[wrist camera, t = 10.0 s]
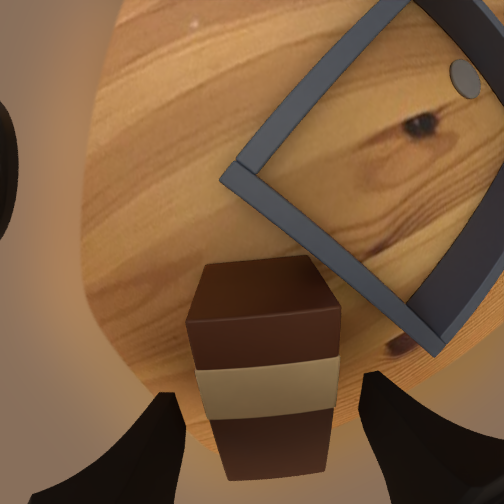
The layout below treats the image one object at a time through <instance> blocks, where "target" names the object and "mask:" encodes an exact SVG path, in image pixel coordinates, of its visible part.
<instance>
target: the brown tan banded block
mask: <svg viewBox="0 0 504 504" xmlns="http://www.w3.org/2000/svg"><path fill="white" fill-rule="evenodd" d="M185 323H186V328H187V333H188V337H189V342H190V346H191V350H192V355H193V359H194V363H195V375H196V379H197V383H198V387H199V391H200V395H201V398H202V402H203V406H204V409H205V413H206V416H207V419H208V420H209V421H210V424H211V428H212V431H213V434H214V438H215V441H216V444H217V448H218V451H219V454H220V457H221V460H222V464H223V467H224V470H225V473H226V476H227V479H228V480H229V481H242V480H260V479H272V478H282V477H291V476H299V475H306V474H313V473H319V472H324V471H325V468H326V461H327V455H328V449H329V442H330V434H331V427H332V419H333V411H334V407H335V406H336V400H337V390H338V380H339V369H340V355H339V342H340V324H341V306H340V304H339V302H338V301H337V299H336V298H335V296H334V295H333V293H332V291H331V290H330V288H329V287H328V285H327V284H326V282H325V281H324V279H323V278H322V276H321V274H320V273H319V271H318V270H317V268H316V267H315V265H314V264H313V262H312V261H311V259H310V258H309V256H307V255H305V256H295V257H284V258H274V259H263V260H253V261H242V262H231V263H220V264H209V265H205V268H204V270H203V273H202V276H201V279H200V281H199V284H198V287H197V290H196V292H195V295H194V298H193V301H192V304H191V307H190V309H189V312H188V315H187V318H186V321H185Z"/></svg>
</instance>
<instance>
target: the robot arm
mask: <svg viewBox="0 0 504 504" xmlns="http://www.w3.org/2000/svg"><path fill="white" fill-rule="evenodd" d="M358 411H359V415H360V418H361V422H362V425H363V428H364V431H365V434H366V436H367V438H368V441H369V443H370V445H371V447H372V450H373V452H374V454H375V456H376V459H377V461H378V463H379V465H380V468H381V470H382V473H383V475H384V478H385V481H386V485H387V488H388V492H389V496H390V500H391V503H392V504H504V440H502V439H498V438H494V437H490V436H486V435H483V434H480V433H477V432H474V431H471V430H469V429H466V428H464V427H461V426H459V425H457V424H455V423H453V422H451V421H449V420H446V419H445V418H443V417H441V416H439V415H438V414H436V413H434V412H433V411H431V410H430V409H428V408H426V407H425V406H423V405H422V404H420V403H419V402H417V401H416V400H415V399H413V398H412V397H411V396H409V395H408V394H407V393H406V392H404V391H403V390H402V389H401V388H399V387H398V386H397V385H396V384H394V383H393V382H392V381H391V380H389V379H388V378H387V377H386V376H385V375H383V374H382V373H381V372H380V371H374V372H369V373H364V377H363V383H362V389H361V395H360V401H359V406H358ZM185 437H186V425H185V422H184V419H183V416H182V413H181V411H180V408H179V405H178V402H177V399H176V396H175V393H174V392H159V393H158V394H157V396H156V397H155V398H154V399H153V401H152V402H151V403H150V405H149V406H148V407H147V408H146V410H145V411H144V412H143V413H142V415H141V416H140V417H139V418H138V419H137V421H136V422H135V423H134V424H133V425H132V427H131V428H130V429H129V430H128V431H127V432H126V433H125V434H124V435H123V436H122V437H121V438H120V439H119V440H118V441H117V442H116V443H115V444H114V445H113V446H112V447H111V448H110V449H109V450H108V451H107V452H106V453H105V454H104V455H102V456H101V457H100V458H99V459H97V460H96V461H95V462H93V463H92V464H91V465H89V466H88V467H86V468H85V469H83V470H82V471H80V472H79V473H77V474H76V475H74V476H72V477H71V478H69V479H67V480H65V481H63V482H61V483H59V484H57V485H55V486H53V487H50V488H48V489H45V490H43V491H40V492H38V493H34V494H32V496H31V498H30V500H29V502H28V504H174V498H175V491H176V487H177V482H178V476H179V473H180V468H181V463H182V458H183V453H184V449H185Z"/></svg>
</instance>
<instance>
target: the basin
mask: <svg viewBox="0 0 504 504" xmlns="http://www.w3.org/2000/svg"><path fill="white" fill-rule="evenodd" d="M410 1H411V0H380V1H379V2H377V3H376V4H375V5H374V6H373V7H372V8H371V9H370V10H369V11H368V12H367V13H366V14H365V15H364V16H363V17H362V18H361V19H360V20H359V21H358V22H357V23H356V24H355V25H354V26H353V27H352V28H351V29H350V30H349V31H348V32H347V33H346V34H345V35H344V36H343V37H342V38H341V39H340V40H339V41H338V42H337V43H336V44H335V45H334V46H333V47H332V48H331V49H330V50H329V51H328V52H327V53H326V54H325V55H324V56H323V57H322V58H321V60H320V61H319V62H318V63H317V64H316V65H315V66H314V67H313V68H312V69H311V70H310V71H309V72H308V74H307V75H306V76H305V77H304V78H303V79H302V80H301V81H300V82H299V84H298V85H297V86H296V87H295V88H294V89H293V90H292V91H291V92H290V94H289V95H288V96H287V97H286V98H285V99H284V100H283V102H282V103H281V104H280V105H279V106H278V107H277V109H276V110H275V111H274V112H273V113H272V114H271V116H270V117H269V118H268V119H267V120H266V121H265V123H264V124H263V125H262V126H261V127H260V129H259V130H258V131H257V132H256V133H255V135H254V136H253V137H252V138H251V140H250V141H249V142H248V143H247V144H246V146H245V147H244V148H243V149H242V151H241V152H240V153H239V154H238V156H237V157H236V161H235V160H234V161H233V162H232V163H231V164H230V166H229V167H228V168H227V169H226V171H225V172H224V173H223V175H222V176H221V177H220V178H219V181H220V183H222V184H223V185H224V186H226V187H227V188H228V189H230V190H231V191H232V192H234V193H235V194H236V195H238V196H239V197H240V198H241V199H243V200H244V201H245V202H247V203H248V204H249V205H251V206H252V207H253V208H254V209H256V210H257V211H258V212H260V213H261V214H262V215H263V216H265V217H266V218H267V219H269V220H270V221H271V222H272V223H274V224H275V225H276V226H277V227H279V228H280V229H281V230H283V231H284V232H285V233H286V234H288V235H289V236H290V237H291V238H293V239H294V240H295V241H296V242H298V243H299V244H300V245H301V246H303V247H304V248H305V249H306V250H308V251H309V252H310V253H311V254H312V255H314V256H315V257H316V258H317V259H319V260H320V261H321V262H322V263H324V264H325V265H326V266H327V267H328V268H330V269H331V270H332V271H333V272H335V273H336V274H337V275H338V276H339V277H341V278H342V279H343V280H344V281H345V282H347V283H348V284H349V285H350V286H351V287H353V288H354V289H355V290H356V291H357V292H359V293H360V294H361V295H362V296H363V297H365V298H366V299H367V300H368V301H369V302H370V303H372V304H373V305H374V306H375V307H376V308H378V309H379V310H380V311H381V312H382V313H383V314H385V315H386V316H387V317H388V318H389V319H390V320H392V321H393V322H394V323H395V324H396V325H397V326H398V327H400V328H401V329H402V330H403V331H404V332H405V333H407V334H408V335H409V336H410V337H411V338H412V339H413V340H414V341H416V342H417V343H418V344H419V345H420V346H421V347H422V348H424V349H425V350H426V351H427V352H428V353H429V354H430V355H431V356H432V357H434V358H435V357H436V356H437V355H438V354H439V353H440V352H441V351H442V349H443V348H444V347H445V346H446V344H448V343H449V342H450V341H451V339H452V338H453V337H454V336H455V335H456V334H457V332H458V331H459V330H460V329H461V328H462V326H463V325H464V324H465V323H466V321H467V320H468V319H469V318H470V316H471V315H472V314H473V313H474V311H475V310H476V309H477V307H478V306H479V305H480V303H481V302H482V301H483V299H484V298H485V296H486V295H487V294H488V292H489V291H490V289H491V288H492V287H493V285H494V284H495V282H496V281H497V279H498V278H499V276H500V275H501V273H502V272H503V270H504V163H503V165H502V167H501V169H500V170H499V172H498V174H497V176H496V178H495V179H494V181H493V183H492V185H491V186H490V188H489V190H488V191H487V193H486V195H485V196H484V198H483V200H482V201H481V203H480V205H479V206H478V208H477V209H476V211H475V213H474V214H473V216H472V217H471V219H470V220H469V222H468V223H467V225H466V226H465V228H464V229H463V231H462V232H461V234H460V235H459V236H458V238H457V239H456V241H455V242H454V243H453V245H452V246H451V248H450V249H449V250H448V252H447V253H446V255H445V256H444V257H443V259H442V260H441V261H440V263H439V264H438V265H437V266H436V268H435V269H434V270H433V272H432V273H431V274H430V275H429V277H428V278H427V279H426V280H425V282H424V283H423V284H422V285H421V287H420V288H419V289H418V290H417V291H416V293H415V294H414V295H413V296H412V297H411V299H410V300H409V301H408V302H407V303H406V304H405V303H404V302H403V301H402V300H401V299H400V298H399V297H398V296H396V295H395V294H394V293H393V292H392V291H391V290H390V289H389V288H388V287H387V286H386V285H385V284H384V283H383V282H381V281H380V280H379V279H378V278H377V277H376V276H375V275H374V274H373V273H372V272H371V271H369V270H368V269H367V268H366V267H365V266H364V265H363V264H362V263H361V262H359V261H358V260H357V259H356V258H355V257H354V256H353V255H352V254H350V253H349V252H348V251H347V250H346V249H345V248H344V247H342V246H341V245H340V244H339V243H338V242H337V241H336V240H334V239H333V238H332V237H331V236H330V235H329V234H327V233H326V232H325V231H324V230H323V229H321V228H320V227H319V226H318V225H317V224H316V223H314V222H313V221H312V220H311V219H310V218H308V217H307V216H306V215H305V214H304V213H302V212H301V211H300V210H299V209H298V208H296V207H295V206H294V205H293V204H291V203H290V202H289V201H288V200H287V199H285V198H284V197H283V196H282V195H280V194H279V193H278V192H277V191H275V190H274V189H273V188H272V187H270V186H269V185H268V184H267V183H265V182H264V181H263V180H261V179H260V178H259V177H258V176H256V174H258V172H259V171H260V170H261V169H262V167H263V166H264V165H265V164H266V163H267V161H268V160H269V159H270V158H271V156H272V155H273V154H274V153H275V152H276V150H277V149H278V148H279V147H280V145H281V144H282V143H283V142H284V141H285V139H286V138H287V137H288V136H289V135H290V133H291V132H292V131H293V130H294V129H295V128H296V126H297V125H298V124H299V123H300V122H301V120H302V119H303V118H304V117H305V116H306V115H307V113H308V112H309V111H310V110H311V109H312V108H313V106H314V105H315V104H316V103H317V102H318V101H319V99H320V98H321V97H322V96H323V95H324V94H325V93H326V91H327V90H328V89H329V88H330V87H331V86H332V85H333V83H334V82H335V81H336V80H337V79H338V78H339V77H340V76H341V74H342V73H343V72H344V71H345V70H346V69H347V68H348V67H349V66H350V64H351V63H352V62H353V61H354V60H355V59H356V58H357V57H358V56H359V55H360V53H361V52H362V51H363V50H364V49H365V48H366V47H367V46H368V45H369V44H370V43H371V42H372V40H373V39H374V38H375V37H376V36H377V35H378V34H379V33H380V32H381V31H382V30H383V29H384V28H385V27H386V26H387V25H388V24H389V23H390V21H391V20H392V19H393V18H394V17H395V16H396V15H397V14H398V13H399V12H400V11H401V10H402V9H403V8H404V7H405V6H406V5H407V4H408V3H409V2H410ZM414 1H415V2H416V3H418V4H419V5H420V6H421V7H422V8H423V9H424V10H425V11H426V12H427V13H428V14H429V15H430V16H431V17H432V18H433V19H434V20H435V21H436V22H437V23H438V24H439V25H440V26H441V27H442V28H443V29H444V30H445V31H446V32H447V33H448V34H449V35H450V36H451V38H452V39H453V40H454V41H455V42H456V43H457V44H458V45H459V47H460V48H461V49H462V50H463V51H464V52H465V54H466V55H467V56H468V57H469V58H470V60H471V61H472V62H473V63H474V65H475V66H476V67H477V69H478V70H479V71H480V72H481V74H482V75H483V76H484V78H485V79H486V81H487V82H488V83H489V85H490V86H491V88H492V89H493V90H494V92H495V93H496V95H497V96H498V98H499V99H500V101H501V102H502V104H503V105H504V26H503V25H502V24H501V22H500V21H499V20H498V19H497V17H496V16H495V15H494V14H493V12H492V11H491V10H490V9H489V8H488V7H487V5H486V4H485V3H484V2H483V1H482V0H414ZM450 76H451V80H452V82H453V84H454V86H455V88H456V89H457V91H458V92H459V93H460V94H461V95H462V96H464V97H466V98H469V99H472V98H476V97H477V96H478V95H479V93H480V89H481V84H480V79H479V76H478V74H477V72H476V71H475V69H474V68H473V67H472V65H471V64H469V63H468V62H467V61H465V60H461V59H459V60H456V61H454V62H453V63H452V64H451V67H450Z"/></svg>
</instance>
